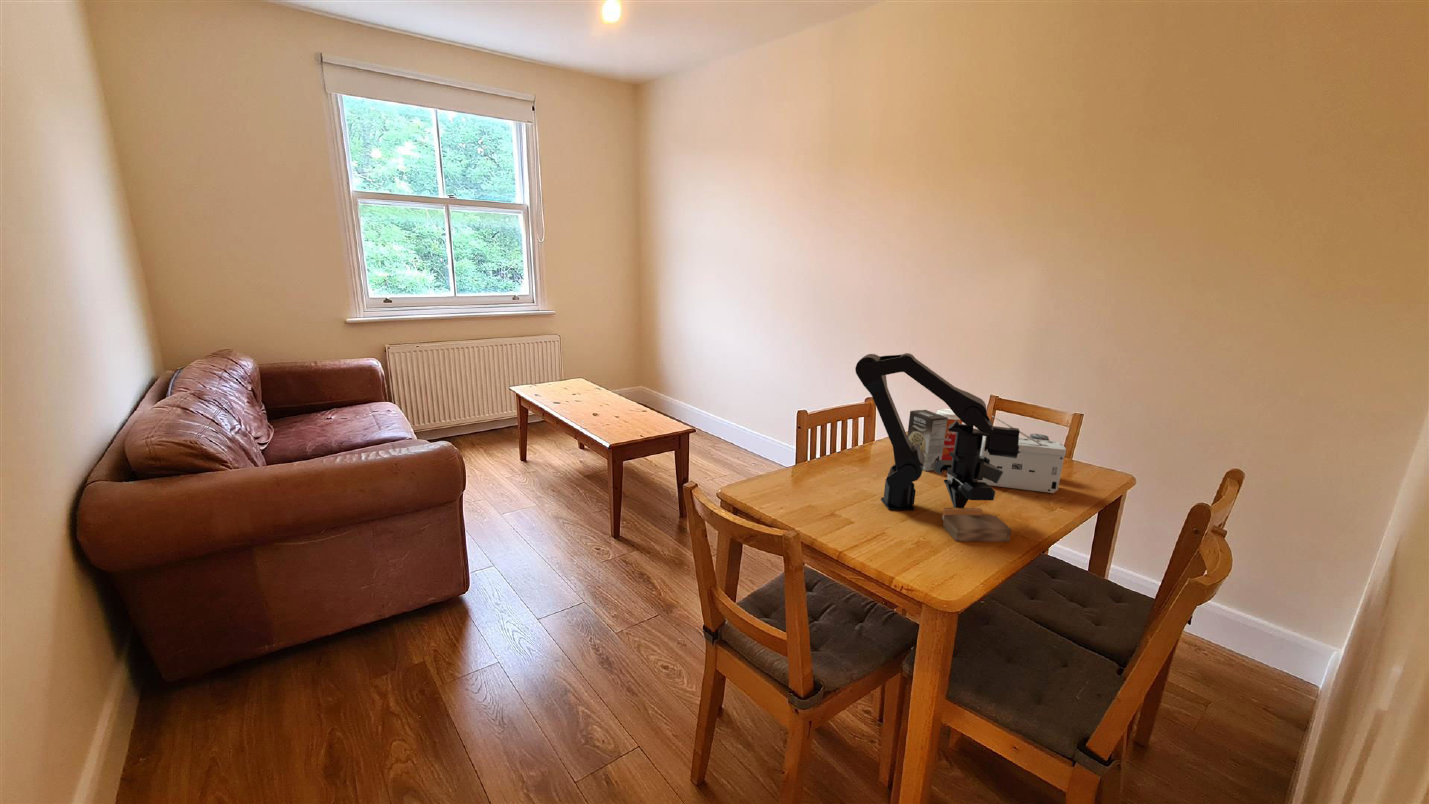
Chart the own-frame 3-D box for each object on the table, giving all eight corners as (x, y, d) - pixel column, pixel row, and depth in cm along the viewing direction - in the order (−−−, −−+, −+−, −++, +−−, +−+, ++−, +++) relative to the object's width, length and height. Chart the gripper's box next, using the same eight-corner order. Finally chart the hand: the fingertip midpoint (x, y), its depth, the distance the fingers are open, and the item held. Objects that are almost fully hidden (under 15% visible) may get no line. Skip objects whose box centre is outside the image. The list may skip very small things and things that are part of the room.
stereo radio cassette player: (1051, 485, 159) (1064, 416, 154) (1060, 496, 152) (1074, 424, 147) (971, 475, 165) (981, 408, 160) (975, 486, 157) (986, 416, 152)
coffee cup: (925, 457, 179) (931, 410, 175) (937, 451, 185) (943, 406, 181) (951, 464, 173) (958, 416, 169) (963, 458, 179) (969, 412, 175)
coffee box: (902, 461, 174) (909, 410, 170) (918, 459, 177) (925, 408, 173) (925, 471, 166) (932, 418, 162) (941, 468, 169) (948, 416, 165)
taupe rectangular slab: (956, 541, 125) (957, 528, 124) (942, 526, 132) (944, 514, 131) (1009, 541, 126) (1011, 529, 125) (993, 527, 132) (995, 515, 132)
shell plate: (957, 535, 128) (959, 523, 127) (941, 519, 136) (943, 507, 135) (996, 535, 129) (998, 523, 128) (978, 519, 136) (980, 508, 136)
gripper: (1023, 465, 125) (1011, 530, 129) (980, 439, 143) (971, 496, 147) (973, 465, 124) (963, 530, 128) (937, 438, 142) (929, 496, 146)
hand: (957, 512), depth 137 cm, fingers closed
